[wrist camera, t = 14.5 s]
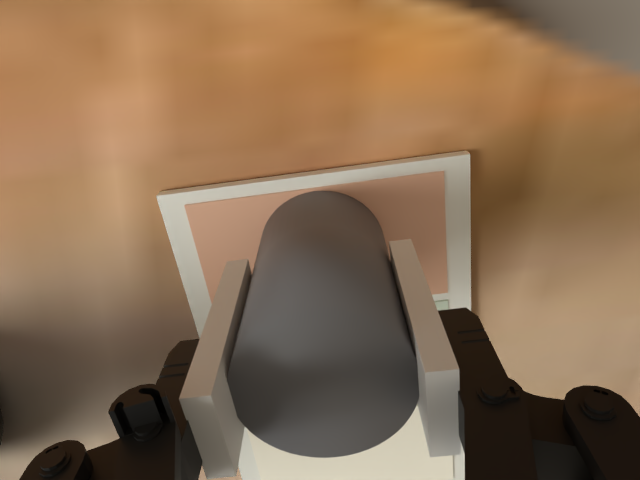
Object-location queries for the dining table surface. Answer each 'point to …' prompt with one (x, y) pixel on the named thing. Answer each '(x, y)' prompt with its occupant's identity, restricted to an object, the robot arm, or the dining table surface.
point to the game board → (397, 224)
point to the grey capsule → (323, 333)
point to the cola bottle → (1, 426)
